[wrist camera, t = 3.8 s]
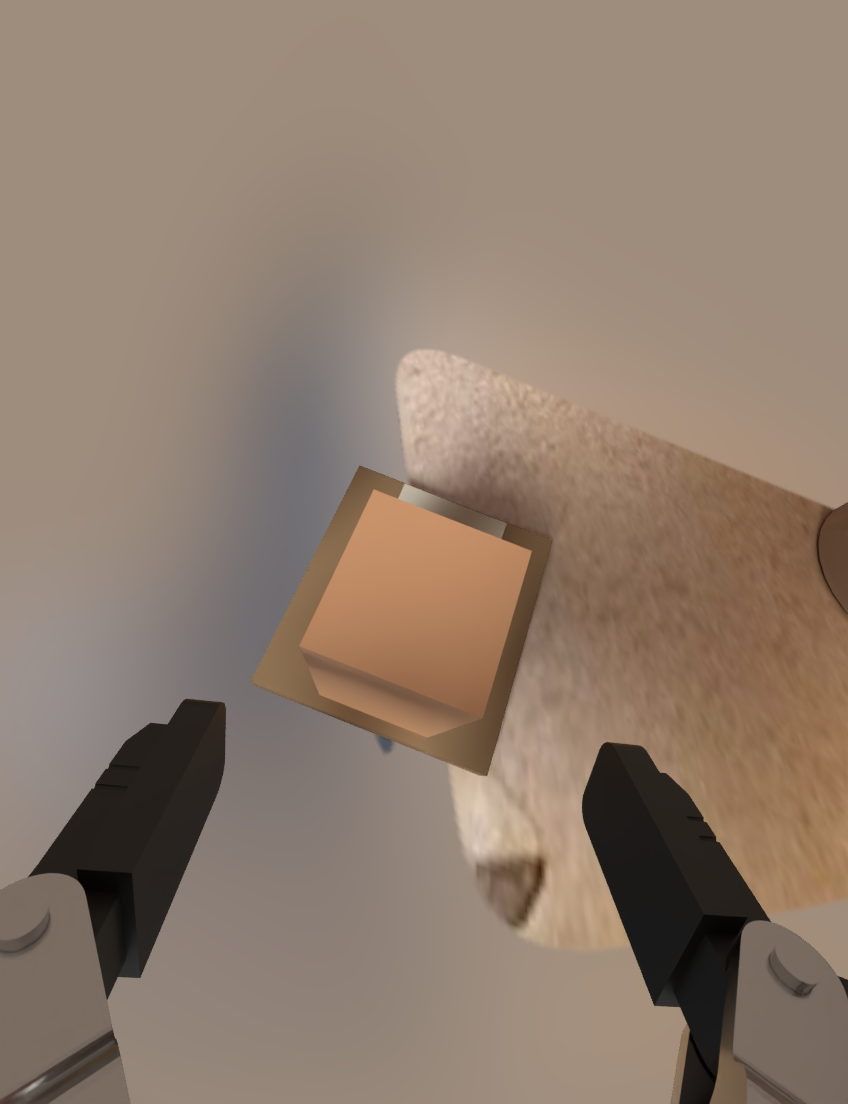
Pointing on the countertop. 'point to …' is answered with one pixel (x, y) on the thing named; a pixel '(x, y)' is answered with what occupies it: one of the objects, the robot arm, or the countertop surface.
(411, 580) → the orange rectangular block
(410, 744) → the board
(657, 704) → the countertop surface
